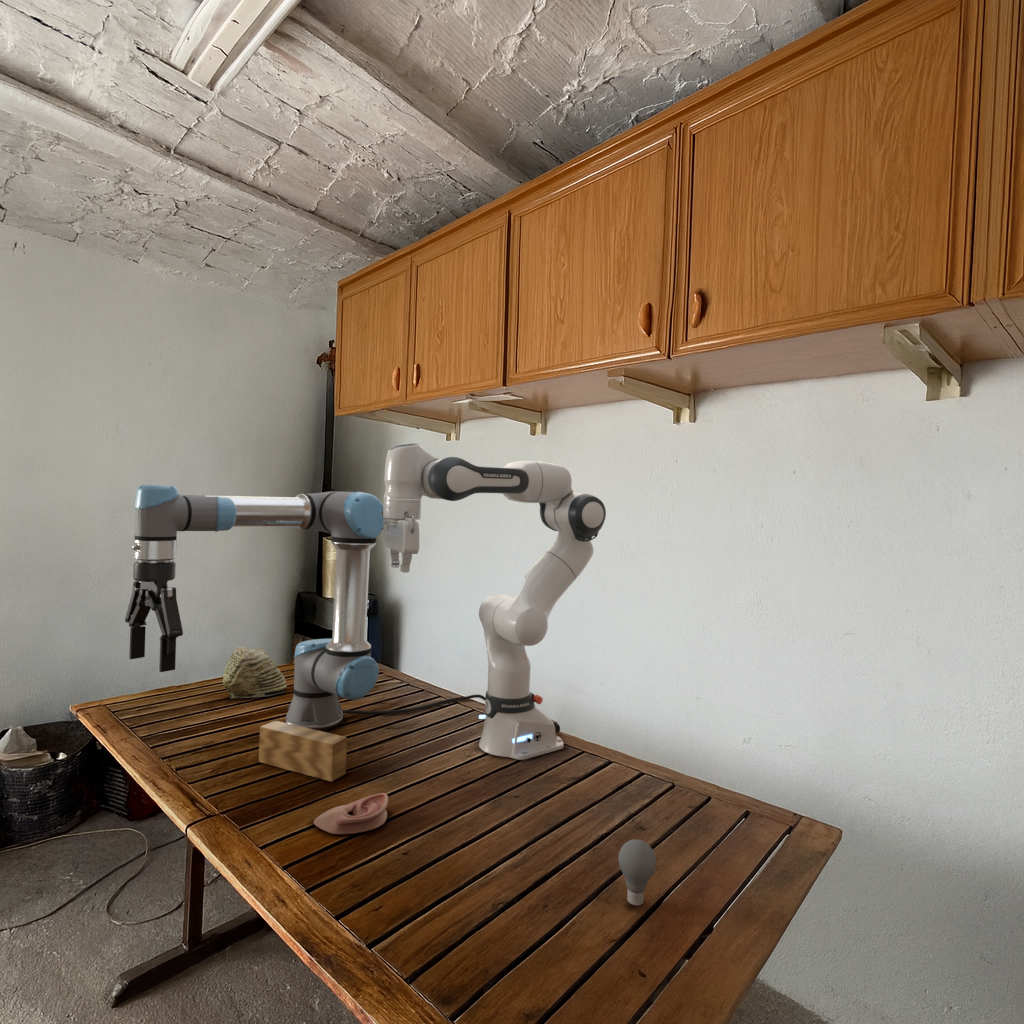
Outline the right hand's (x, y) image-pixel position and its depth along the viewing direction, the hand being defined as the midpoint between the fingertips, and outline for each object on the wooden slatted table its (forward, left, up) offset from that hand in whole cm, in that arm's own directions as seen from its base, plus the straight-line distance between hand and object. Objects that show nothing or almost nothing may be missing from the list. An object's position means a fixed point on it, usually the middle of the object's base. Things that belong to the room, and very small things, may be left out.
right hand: (399, 569), depth 150 cm
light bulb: (-21, +66, -47) cm, 83 cm away
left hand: (+51, -3, -19) cm, 54 cm away
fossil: (+25, -65, -47) cm, 84 cm away
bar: (+20, -6, -47) cm, 51 cm away
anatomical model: (+15, +23, -47) cm, 54 cm away
